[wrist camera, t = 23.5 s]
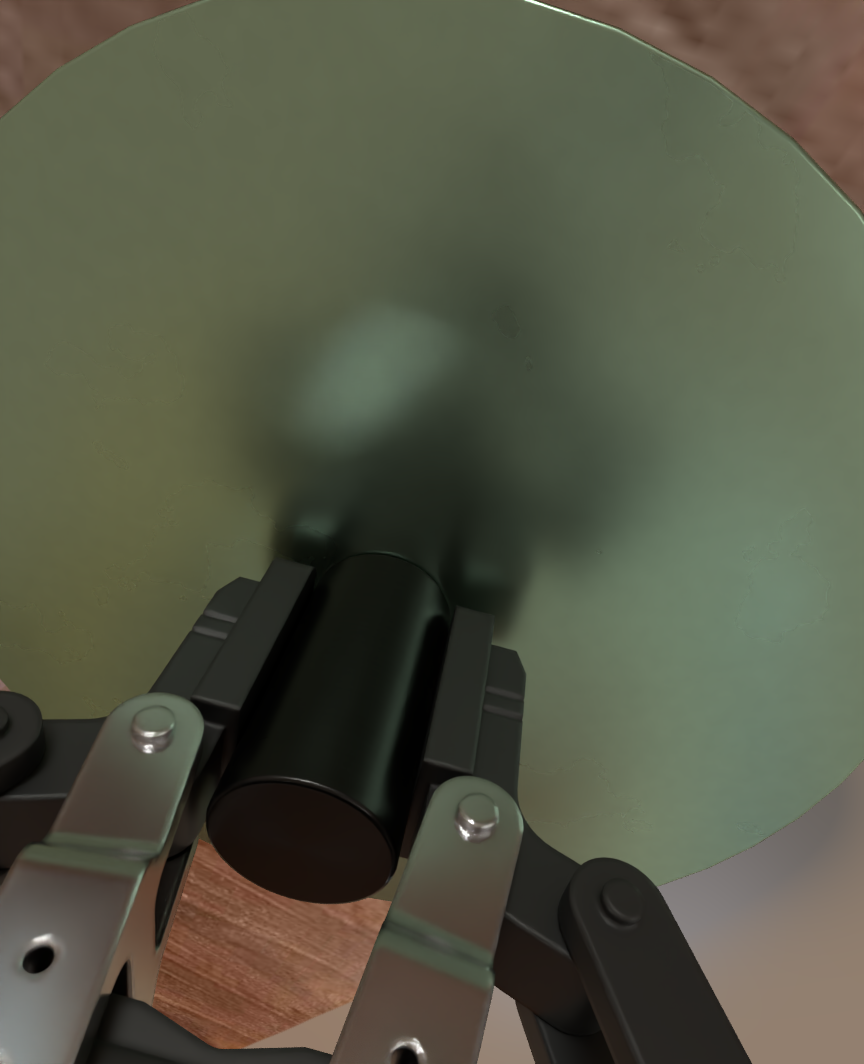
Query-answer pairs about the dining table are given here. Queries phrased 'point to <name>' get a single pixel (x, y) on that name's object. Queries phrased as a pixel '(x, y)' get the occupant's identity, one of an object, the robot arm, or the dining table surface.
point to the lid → (439, 417)
